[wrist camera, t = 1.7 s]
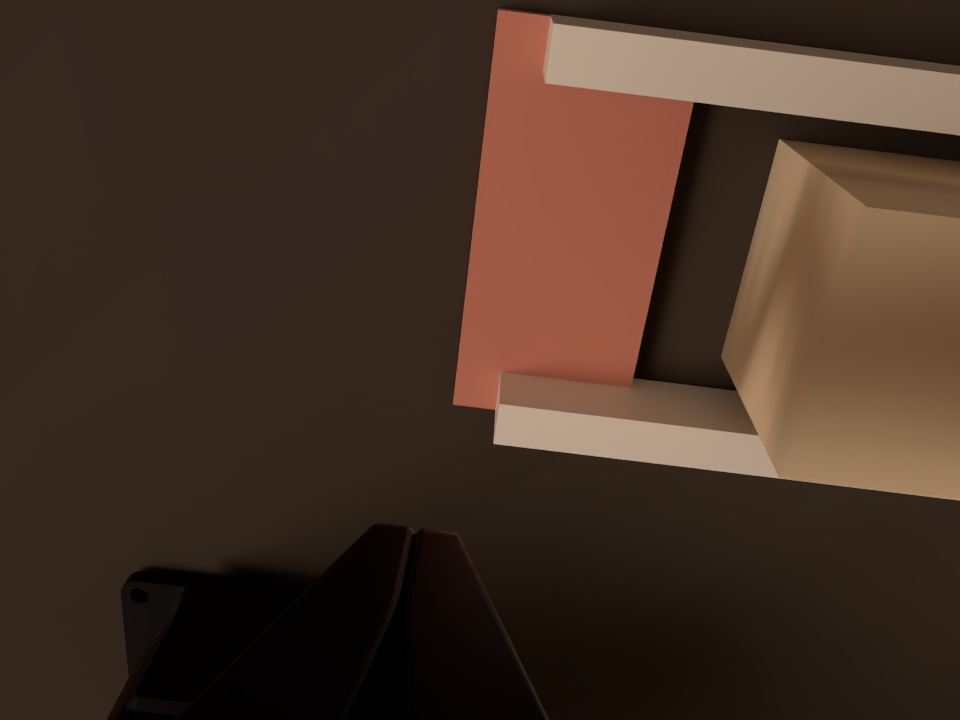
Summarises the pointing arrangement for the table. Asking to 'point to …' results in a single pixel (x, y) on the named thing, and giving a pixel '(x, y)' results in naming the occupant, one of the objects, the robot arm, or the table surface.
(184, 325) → the table surface
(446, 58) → the table surface
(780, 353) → the pine block
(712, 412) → the channel
